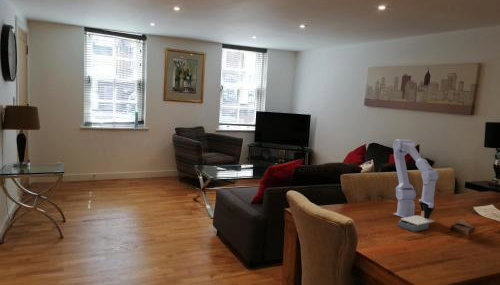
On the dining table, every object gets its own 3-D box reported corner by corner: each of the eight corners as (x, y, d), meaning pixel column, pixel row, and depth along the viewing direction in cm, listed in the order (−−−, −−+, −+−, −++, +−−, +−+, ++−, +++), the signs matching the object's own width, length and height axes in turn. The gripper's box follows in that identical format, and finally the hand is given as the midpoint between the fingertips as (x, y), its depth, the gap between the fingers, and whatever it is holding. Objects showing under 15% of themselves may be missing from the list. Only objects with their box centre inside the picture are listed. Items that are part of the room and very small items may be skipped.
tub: (412, 223, 195) (413, 217, 194) (428, 228, 187) (429, 223, 187) (397, 226, 188) (398, 220, 187) (413, 232, 180) (413, 226, 180)
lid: (417, 218, 197) (418, 209, 196) (434, 224, 189) (435, 214, 188) (400, 222, 189) (401, 212, 188) (417, 228, 181) (418, 218, 180)
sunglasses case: (469, 235, 179) (462, 222, 181) (454, 239, 184) (448, 226, 185) (475, 227, 193) (469, 215, 195) (462, 230, 197) (456, 219, 199)
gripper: (416, 188, 198) (413, 212, 200) (424, 195, 184) (421, 220, 186) (430, 189, 197) (427, 213, 199) (439, 196, 183) (435, 222, 185)
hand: (425, 217), depth 192 cm, fingers closed on lid, 4 cm apart
